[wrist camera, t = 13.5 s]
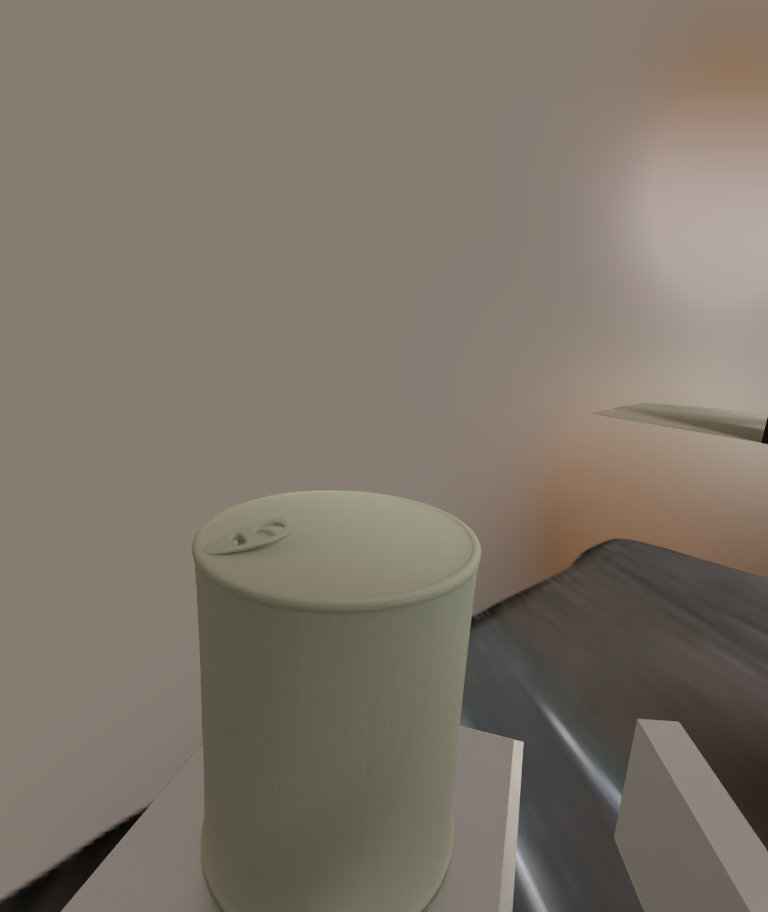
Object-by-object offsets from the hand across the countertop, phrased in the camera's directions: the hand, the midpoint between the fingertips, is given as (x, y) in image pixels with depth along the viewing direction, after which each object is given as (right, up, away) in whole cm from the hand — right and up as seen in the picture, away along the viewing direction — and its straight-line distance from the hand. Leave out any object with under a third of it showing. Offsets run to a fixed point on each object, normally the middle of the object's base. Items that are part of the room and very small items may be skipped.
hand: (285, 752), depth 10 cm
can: (0, -8, +10) cm, 13 cm away
